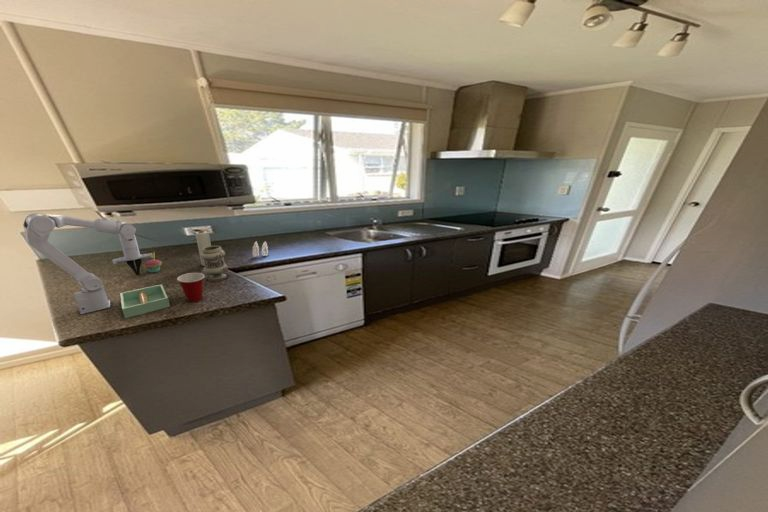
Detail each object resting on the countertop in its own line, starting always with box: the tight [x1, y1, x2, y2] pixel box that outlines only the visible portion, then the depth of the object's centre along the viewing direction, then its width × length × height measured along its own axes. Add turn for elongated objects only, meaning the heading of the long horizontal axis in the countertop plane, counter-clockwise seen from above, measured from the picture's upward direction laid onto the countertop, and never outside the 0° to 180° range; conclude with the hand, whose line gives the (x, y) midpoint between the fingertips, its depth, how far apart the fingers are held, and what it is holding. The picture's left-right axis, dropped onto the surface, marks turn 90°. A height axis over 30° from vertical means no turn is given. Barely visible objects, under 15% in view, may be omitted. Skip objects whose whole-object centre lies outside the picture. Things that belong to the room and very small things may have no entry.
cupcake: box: [142, 252, 163, 273], centre depth 167 cm, size 9×8×12 cm
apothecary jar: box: [201, 245, 229, 282], centre depth 159 cm, size 12×12×18 cm
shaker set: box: [252, 241, 269, 259], centre depth 196 cm, size 12×4×11 cm, turn 144°
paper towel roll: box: [195, 230, 212, 267], centre depth 178 cm, size 7×6×21 cm
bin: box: [119, 283, 171, 319], centre depth 131 cm, size 16×20×4 cm
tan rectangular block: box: [138, 291, 149, 304], centre depth 132 cm, size 3×15×8 cm, turn 37°
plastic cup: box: [176, 272, 206, 303], centre depth 135 cm, size 11×11×12 cm
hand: (137, 274), depth 138 cm, fingers closed
